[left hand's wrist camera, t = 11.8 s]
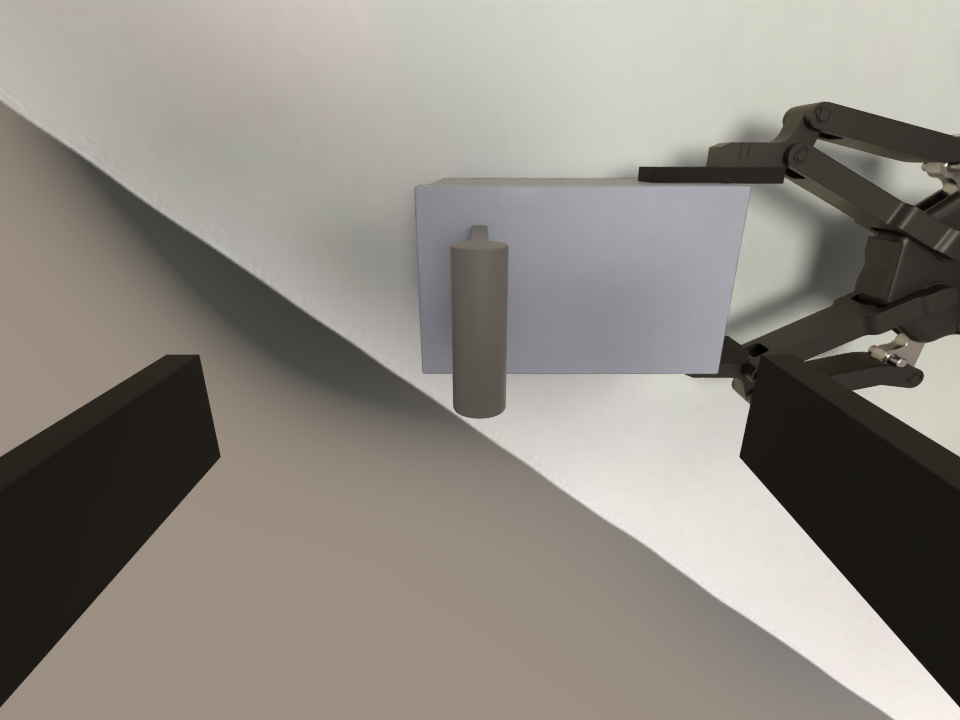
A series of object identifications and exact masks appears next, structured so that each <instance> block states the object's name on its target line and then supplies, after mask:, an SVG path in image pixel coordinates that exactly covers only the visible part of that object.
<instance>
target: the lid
mask: <svg viewBox="0 0 960 720" xmlns="http://www.w3.org/2000/svg"><path fill="white" fill-rule="evenodd" d="M414 189H415V212H416V235H417V258H418V281H419V304H420V327H421V350H422V372H423V373H424V374H453V407H454V410H455V411H456V412H457V413H458V414H460V415H462V416H465V417H469V418H479V419H480V418H490V417H494V416H497V415H499V414H501V413H502V412H503V411H504V410H505V407H506V374H717V373H718V369H719V364H720V358H721V353H722V347H723V342H724V336H725V330H726V325H727V319H728V314H729V308H730V303H731V297H732V291H733V286H734V280H735V275H736V269H737V264H738V258H739V252H740V247H741V241H742V236H743V230H744V225H745V219H746V213H747V208H748V202H749V197H750V191H751V186H746V185H417V186H415V188H414Z"/></svg>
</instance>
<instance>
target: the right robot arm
mask: <svg viewBox="0 0 960 720" xmlns="http://www.w3.org/2000/svg"><path fill="white" fill-rule="evenodd" d="M817 139H819V140H823V141H827V142H831V143H834V144H838V145H842V146H846V147H849V148H853V149H857V150H861V151H865V152H868V153H872V154H876V155H880V156H883V157H887V158H891V159H895V160H898V161H904V162H914V163H923V164H922V170H923V171H927V174H928V175H929V176H930V177H933V178H938V179H940V180H941V181H942V184H943V189H941V190H939V191H937V192H935V193H934V194H932V195H930V196H929V197H927V198H926V199H924V200H922V201H921V202H919V203H918V204H916V205H914V206H913V205H910V204H907V203H904V202H902V201H900V200H899V199H897V198H895V197H894V196H892V195H891V194H889V193H887V192H886V191H884V190H882V189H881V188H879V187H878V186H876V185H874V184H873V183H871V182H869V181H868V180H866V179H865V178H863V177H861V176H860V175H858V174H856V173H855V172H853V171H852V170H850V169H848V168H847V167H845V166H843V165H842V164H840V163H839V162H837V161H835V160H834V159H832V158H831V157H829V156H827V155H826V154H824V153H822V152H821V151H819V150H818V149H816V148H814V147H813V145H814V143H815V142H816V140H817ZM784 177H785V178H787V179H789V180H790V181H792V182H794V183H795V184H797V185H799V186H800V187H802V188H804V189H805V190H807V191H809V192H811V193H812V194H814V195H816V196H817V197H819V198H821V199H822V200H824V201H826V202H827V203H829V204H831V205H832V206H834V207H836V208H837V209H839V210H841V211H842V212H844V213H846V214H847V215H849V216H851V217H852V218H854V219H855V222H856V223H858V224H860V225H861V226H863V227H865V228H866V229H868V230H870V231H871V232H873V233H875V236H874V237H869V238H868V242H867V246H866V249H865V266H864V267H863V269H862V271H861V273H860V275H859V277H858V279H857V283H856V287H855V291H854V292H852V293H850V294H847V295H845V296H843V297H841V298H838V299H836V300H835V301H834V304H833V305H832V306H830V307H828V308H826V309H823V310H821V311H819V312H816V313H814V314H812V315H809V316H807V317H805V318H803V319H800V320H798V321H796V322H793V323H791V324H789V325H786V326H784V327H782V328H780V329H777V330H775V331H773V332H770V333H768V334H766V335H763V336H761V337H759V338H757V339H754V340H752V341H750V342H747V343H745V344H743V345H740V344H739V343H737V342H736V341H734V340H733V339H732V338H730V337H729V336H724V342H723V347H722V353H721V358H720V364H719V369H718V373H717V374H685V375H688V376H690V377H693V378H702V377H704V378H709V377H711V378H733V381H732V388H733V389H734V390H735V391H736V392H737V393H738V394H739V395H740V396H741V397H742V398H744V399H745V400H746V401H747V402H748V403H749V404H751V399H752V394H753V390H754V385H755V380H756V375H757V370H758V366H759V361H760V356H761V355H795V356H796V357H798V358H800V359H801V360H803V361H805V360H807V359H810V358H812V357H814V356H817V355H819V354H822V353H824V352H826V351H829V350H831V349H833V348H836V347H838V346H841V345H843V344H845V343H848V342H850V341H852V340H855V339H857V338H860V337H862V336H865V335H877V334H882V333H885V332H887V331H889V330H893V331H894V332H895V333H896V334H898V335H897V337H896V338H895V339H894V340H893V341H892V342H891V343H888V344H883V345H879V346H876V345H873V346H871V347H869V349H868V352H851V353H845V354H840V355H835V356H830V357H825V358H820V359H815V360H810V361H805V362H806V363H808V364H809V365H811V366H813V367H814V368H816V369H817V370H819V371H821V372H822V373H824V374H826V375H827V376H829V377H830V378H832V379H834V380H835V381H837V382H839V383H840V384H842V385H844V386H845V387H847V388H848V389H850V390H857V389H862V388H867V387H872V386H877V385H888V386H896V387H905V388H913V387H916V386H918V385H919V384H920V383H921V382H922V380H923V377H924V374H923V372H922V371H921V370H919V369H917V368H915V367H914V365H915V363H916V361H917V359H918V357H919V354H920V352H921V350H922V348H923V346H924V344H925V343H928V342H932V341H935V340H937V339H939V338H942V337H944V336H947V335H952V334H959V335H960V135H948V134H944V133H941V132H937V131H933V130H929V129H926V128H922V127H918V126H915V125H911V124H907V123H904V122H900V121H896V120H893V119H889V118H885V117H882V116H878V115H874V114H871V113H867V112H863V111H860V110H856V109H852V108H849V107H845V106H841V105H838V104H834V103H830V102H820V103H814V104H808V105H803V106H797V107H793V108H791V109H789V110H788V111H787V112H786V114H785V115H784V118H783V128H782V130H781V132H780V133H779V135H778V136H777V137H776V138H775V139H774V140H773V141H771V142H769V143H719V144H717V145H714V146H712V147H709V152H708V159H707V166H706V167H639V174H638V181H642V182H650V183H752V184H783V181H784Z"/></svg>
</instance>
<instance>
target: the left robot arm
mask: <svg viewBox="0 0 960 720" xmlns="http://www.w3.org/2000/svg"><path fill="white" fill-rule="evenodd" d="M220 457H221V456H220V452H219V447H218V442H217V437H216V433H215V428H214V423H213V419H212V414H211V409H210V404H209V399H208V394H207V390H206V385H205V380H204V375H203V370H202V366H201V361H200V356H199V355H165V356H164V357H162V358H160V359H159V360H157V361H156V362H154V363H152V364H151V365H149V366H147V367H146V368H144V369H143V370H141V371H139V372H138V373H136V374H134V375H133V376H131V377H130V378H128V379H126V380H125V381H123V382H121V383H120V384H118V385H116V386H115V387H113V388H112V389H110V390H108V391H107V392H105V393H103V394H102V395H100V396H99V397H97V398H95V399H94V400H92V401H90V402H89V403H87V404H86V405H84V406H82V407H81V408H79V409H78V410H76V411H74V412H73V413H71V414H69V415H68V416H66V417H64V418H63V419H61V420H60V421H58V422H56V423H55V424H53V425H51V426H50V427H48V428H47V429H45V430H43V431H42V432H40V433H39V434H37V435H35V436H34V437H32V438H30V439H29V440H27V441H25V442H24V443H22V444H21V445H19V446H17V447H16V448H14V449H13V450H11V451H9V452H8V453H6V454H4V455H3V456H1V457H0V707H1V706H2V705H3V704H4V703H5V701H6V700H7V699H8V698H9V697H10V696H11V695H12V693H13V692H14V691H15V690H16V689H17V688H18V687H19V686H20V684H21V683H22V682H23V681H24V680H25V679H26V678H27V676H28V675H29V674H30V673H31V672H32V671H33V670H34V668H35V667H36V666H37V665H38V664H39V663H40V662H41V660H42V659H43V658H44V657H45V656H46V655H47V654H48V653H49V651H50V650H51V649H52V648H53V647H54V646H55V645H56V643H57V642H58V641H59V640H60V639H61V638H62V637H63V635H64V634H65V633H66V632H67V631H68V630H69V629H70V628H71V626H72V625H73V624H74V623H75V622H76V621H77V620H78V618H79V617H80V616H81V615H82V614H83V613H84V612H85V610H86V609H87V608H88V607H89V606H90V605H91V604H92V602H93V601H94V600H95V599H96V598H97V597H98V596H99V595H100V593H101V592H102V591H103V590H104V589H105V588H106V587H107V585H108V584H109V583H110V582H111V581H112V580H113V579H114V578H115V576H116V575H117V574H118V573H119V572H120V571H121V570H122V568H123V567H124V566H125V565H126V564H127V563H128V562H129V560H130V559H131V558H132V557H133V556H134V555H135V554H136V552H137V551H138V550H139V549H140V548H141V547H142V546H143V545H144V543H145V542H146V541H147V540H148V539H149V538H150V536H151V535H152V534H153V533H154V532H155V531H156V530H157V529H158V527H159V526H160V525H161V524H162V523H163V522H164V521H165V520H166V518H167V517H168V516H169V515H170V514H171V513H172V512H173V510H174V509H175V508H176V507H177V506H178V505H179V504H180V502H181V501H182V500H183V499H184V498H185V497H186V496H187V494H188V493H189V492H190V491H191V490H192V489H193V488H194V486H195V485H196V484H197V483H198V482H199V481H200V480H201V479H202V477H203V476H204V475H205V474H206V473H207V472H208V471H209V469H210V468H211V467H212V466H213V465H214V464H215V463H216V462H217V460H218V459H219V458H220ZM739 457H740V458H741V459H742V460H743V462H744V463H745V464H746V465H747V466H748V467H749V468H750V469H751V471H752V472H753V473H754V474H755V475H756V476H757V477H758V479H759V480H760V481H761V482H762V483H763V484H764V485H765V487H766V488H767V489H768V490H769V491H770V492H771V493H772V494H773V496H774V497H775V498H776V499H777V500H778V501H779V502H780V504H781V505H782V506H783V507H784V508H785V509H786V510H787V512H788V513H789V514H790V515H791V516H792V517H793V518H794V520H795V521H796V522H797V523H798V524H799V525H800V526H801V527H802V529H803V530H804V531H805V532H806V533H807V534H808V535H809V537H810V538H811V539H812V540H813V541H814V542H815V543H816V545H817V546H818V547H819V548H820V549H821V550H822V551H823V552H824V554H825V555H826V556H827V557H828V558H829V559H830V560H831V562H832V563H833V564H834V565H835V566H836V567H837V568H838V570H839V571H840V572H841V573H842V574H843V575H844V576H845V578H846V579H847V580H848V581H849V582H850V583H851V584H852V585H853V587H854V588H855V589H856V590H857V591H858V592H859V593H860V595H861V596H862V597H863V598H864V599H865V600H866V601H867V603H868V604H869V605H870V606H871V607H872V608H873V609H874V610H875V612H876V613H877V614H878V615H879V616H880V617H881V618H882V620H883V621H884V622H885V623H886V624H887V625H888V626H889V628H890V629H891V630H892V631H893V632H894V633H895V634H896V635H897V637H898V638H899V639H900V640H901V641H902V642H903V643H904V645H905V646H906V647H907V648H908V649H909V650H910V651H911V653H912V654H913V655H914V656H915V657H916V658H917V659H918V661H919V662H920V663H921V664H922V665H923V666H924V667H925V668H926V670H927V671H928V672H929V673H930V674H931V675H932V676H933V678H934V679H935V680H936V681H937V682H938V683H939V684H940V686H941V687H942V688H943V689H944V690H945V691H946V692H947V693H948V695H949V696H950V697H951V698H952V699H953V700H954V701H955V703H956V704H957V705H958V706H959V707H960V457H959V456H957V455H956V454H954V453H952V452H951V451H949V450H948V449H946V448H944V447H943V446H941V445H939V444H938V443H936V442H935V441H933V440H931V439H930V438H928V437H926V436H925V435H923V434H922V433H920V432H918V431H917V430H915V429H913V428H912V427H910V426H909V425H907V424H905V423H904V422H902V421H900V420H899V419H897V418H896V417H894V416H892V415H891V414H889V413H887V412H886V411H884V410H883V409H881V408H879V407H878V406H876V405H874V404H873V403H871V402H870V401H868V400H866V399H865V398H863V397H861V396H860V395H858V394H857V393H855V392H853V391H852V390H850V389H848V388H847V387H845V386H844V385H842V384H840V383H839V382H837V381H835V380H834V379H832V378H830V377H829V376H827V375H826V374H824V373H822V372H821V371H819V370H817V369H816V368H814V367H813V366H811V365H809V364H808V363H806V362H804V361H803V360H801V359H800V358H798V357H796V356H795V355H761V356H760V361H759V366H758V370H757V375H756V380H755V385H754V390H753V394H752V399H751V404H750V409H749V413H748V418H747V423H746V428H745V433H744V437H743V442H742V447H741V452H740V456H739Z"/></svg>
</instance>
